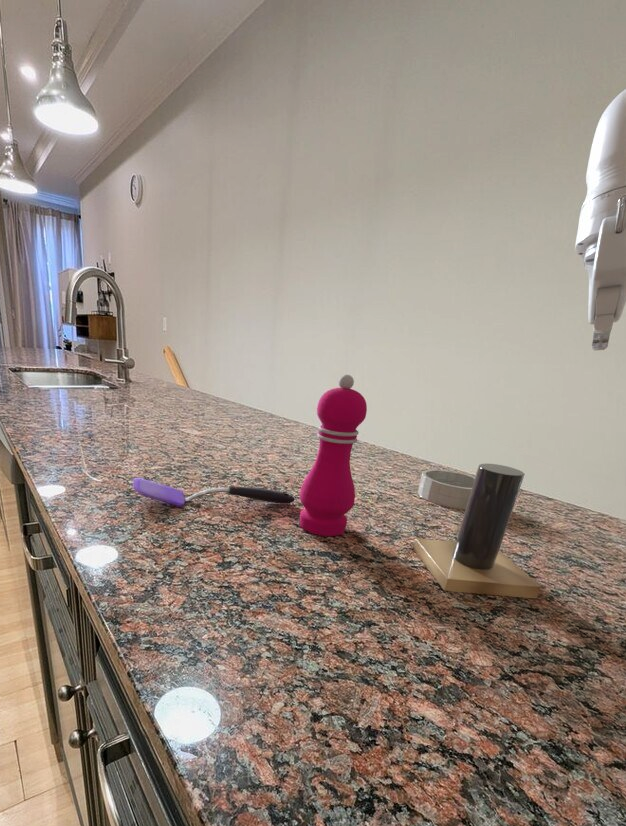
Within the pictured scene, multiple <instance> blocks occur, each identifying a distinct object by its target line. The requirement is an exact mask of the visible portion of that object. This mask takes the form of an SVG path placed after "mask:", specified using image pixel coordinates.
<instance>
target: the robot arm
mask: <svg viewBox="0 0 626 826" xmlns="http://www.w3.org/2000/svg"><path fill="white" fill-rule="evenodd" d="M591 143H592V144H591V148H590V152H589V157H588V162H587V168H586V174H585V182H586V189H587V191H586V196H585V199H584V201H583V202H582V205H581V208H580V213H579V220H578V224H577V225H578V226H577V232H576V238H575V244H574V252H575V253H576V254H577V255H579V256H580V258H581V260H582V261H583V264H584V269H585V271H587V273H588V306H587V307H588V309H587V312H588V313H587V314H588V315H587V317H588V324H589V325H593V331H592V341H591V350H592V351H604V350H606V349H607V348H608V347H609V341H610V335H611V333H612V329H613V325H614V323H617V322H619V321H620V319H621V316H622V315H623V311H624V308H625V305H626V88H625V89H623V90H622V91H621V92H620V93H619V94H617V96H616V97H614V98H613V100H612V101H611V102H610V103H609V105H607V107H606V108H605V110H604V111H603V113H602V114H601V117H600V118H599V120H598V123H597V126H596V129H595V131H594V135H593V139H592V142H591Z"/></svg>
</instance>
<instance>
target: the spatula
mask: <svg viewBox="0 0 626 826" xmlns="http://www.w3.org/2000/svg"><path fill="white" fill-rule="evenodd" d="M132 488H133V490H134V491H135V492H137V493H138V494H139V495H141V496H143V497H145V498H148V499H153V500H156V501H160V502H164V503H167V504H170V505H173V506H176V507H180V508H182V507H184V506H185V504H186V503H190V502H191V501H193V500H194V499H197V498H199V497H202V496H205V495H208V494H215V493H228V494H229V495H231V496H237V497H242V498H247V499H252V500H257V501H262V502H267V503H273V504H274V503H275V504H292V503H293V502H295V497H294V496H293V495H291V494H289V493H286V492H283V491H278V490H273V489H267V488H257V487H249V486H248V487H247V486H238V485H229V486H228V487H213V488H207V489H205V490H200V491H199V492H196V493H194V494H192V495H190V496H187V497H186V496H185V493H184V491H182V490H180V489H178V488H174V487H172V486H168V485H165V484H162V483H159V482H154V481H151V480H148V479H145V478H142V477H134V479H133V482H132Z"/></svg>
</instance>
